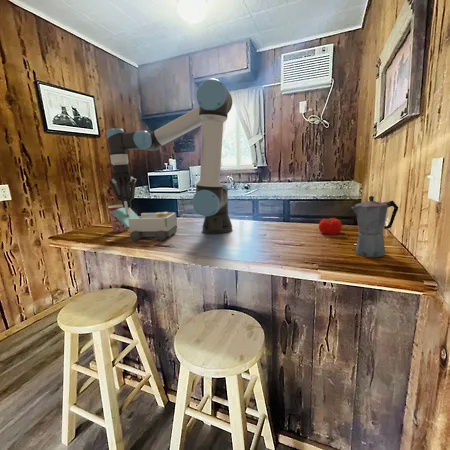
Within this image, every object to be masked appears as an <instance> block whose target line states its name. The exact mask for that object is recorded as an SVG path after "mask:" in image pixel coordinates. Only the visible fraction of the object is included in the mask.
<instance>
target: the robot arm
mask: <svg viewBox="0 0 450 450" xmlns="http://www.w3.org/2000/svg"><path fill="white" fill-rule="evenodd" d="M195 94H196V95H195V96H196V97H195V98H196V101H197V104H198V105H199V106H197V107H196V108H193V109H191V110H189V111H188V112H186V113H184V114H182V115H181V116H179V117H177V118H174V119H173V120H171V121H170V122H168V123H166V124H164V125H162V126H161V127H159V128H157V129H155V130H153V131H152V132H150V133H149V131H147V130H141V129H140V130H135V131H129V132H127V131H126V132H125V130H124V129H123V128H108V129H107V130H106V132H105V133H106V141H107V145H108V150H109V158H110V164H111V165H112V166H111V169H112V174H113V177H112V179H111V180H109V184H110V185H111V187H112V189H113V191H114V193H115V196H116V199H117V200H118V201H119V202H121V203H122V205H123V207H124V208H125V211H126V215H130V214H131V209H132V200H134V199H135V196H136V195H135V194H136V193H135V192H136V183H137V181H138V179H137V178H134V177H133V176H132V174H131V169H130V165H129V156H128V151H132V150H144V151H150V152H155V151H158V150H159V151H160V149H161V147H162V146H164V145H166V144H168V143H170V142H171V141H174V140H176V139H178V138H180V137H182V136H183V135H185V134H187V133H189V132H191V131H193V130H195V129H196V128H197V129H198V128H199V127H200V126H202V127H201V129H202V130H201V146H200V147H201V150H200V170H199V173H200V174H199V181H198V182H196V184H195V193H194V195H193V197H192V203H191V204H192V207H193V209H194V211H195V212H196V213H197V214H198V215H199V216H203V217H204V220H203V223H202V225H201V227H202V232H203V233H206V234H212V235H213V234H225V233H229V232H232V231H233V224H232V221H231V218H230V216H229V198H228V197H229V196H228V194H229V193H228V192H229V191H228V186H227V184H225V183H223V184H222V182H221V166H222V165H221V164H222V149H223V135H224V134H223V133H224V123H226V121H227V120H228V114H229V113H230V111H231V109H232V107H233V97H232V95H231V93H230V92H229V91H228V88H227V87H226V85H225V84H224V83H223V81H221V80H219V79H216V78H207V79H205V80H203V81H202V82H201V83H200V84H199V86H198V88H197V89H196V93H195ZM130 208H131V209H130Z"/></svg>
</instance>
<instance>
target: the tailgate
mask: <svg viewBox="0 0 450 450" xmlns="http://www.w3.org/2000/svg"><path fill="white" fill-rule="evenodd" d="M130 209H131V214H130V215H126V211H125V208H124V207H122V208H119V209H116V210H113V211H112V213H113V214H114V215H115V216H116V217H117V218H118V219H119V220H120V221H121V222H122V223H123V224H124V225H125V226H126V227H125V229H128V230H129V229H130V228H129V220H128V219H129V218H140V216H138V214H137V213H136V212H135V211H134V210H133V209H132V207H130Z"/></svg>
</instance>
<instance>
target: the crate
mask: <svg viewBox="0 0 450 450" xmlns="http://www.w3.org/2000/svg"><path fill="white" fill-rule="evenodd" d="M155 213H156V218H166V217H167V216H168V213H169V211H161V212H160V211H158V212H155Z"/></svg>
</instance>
